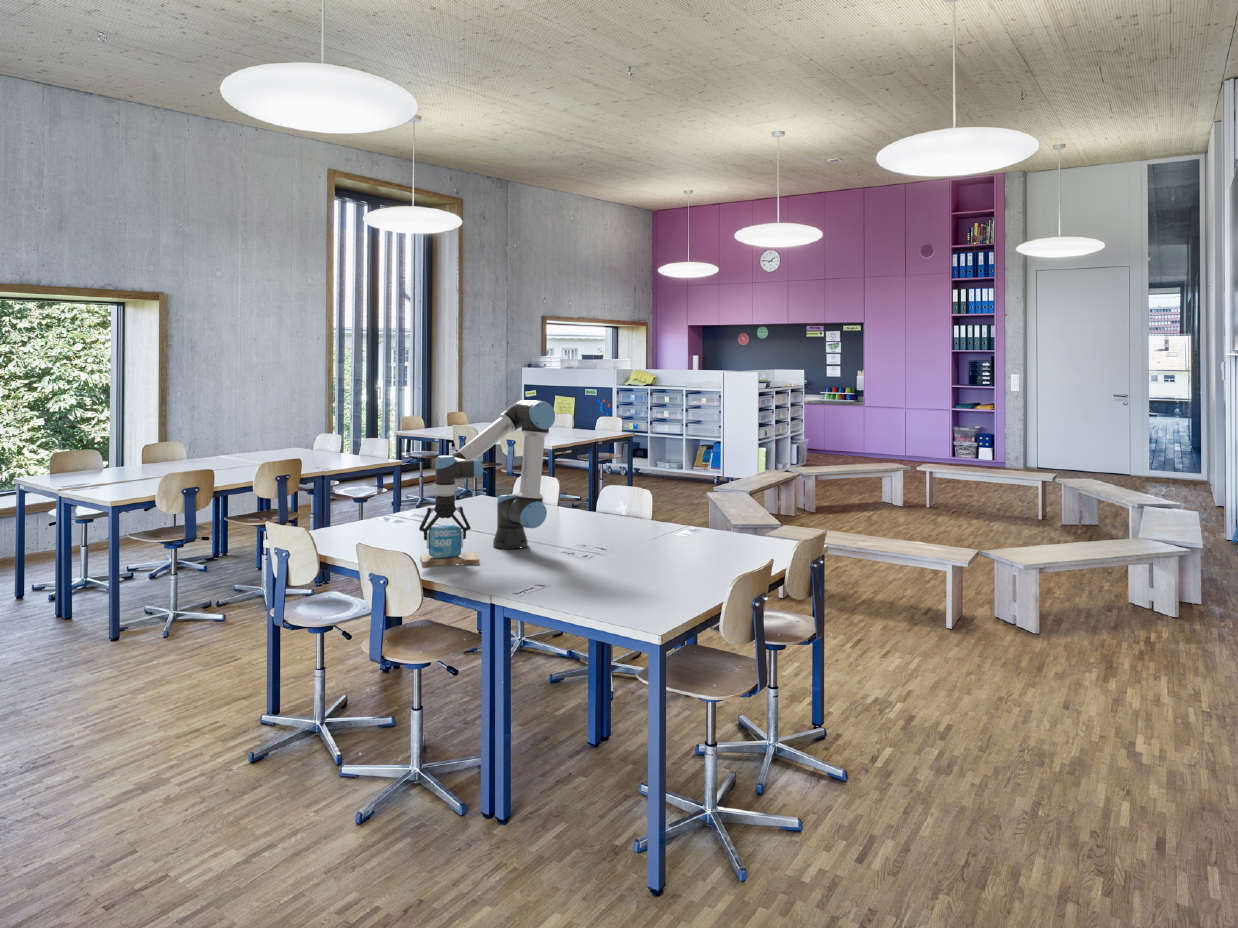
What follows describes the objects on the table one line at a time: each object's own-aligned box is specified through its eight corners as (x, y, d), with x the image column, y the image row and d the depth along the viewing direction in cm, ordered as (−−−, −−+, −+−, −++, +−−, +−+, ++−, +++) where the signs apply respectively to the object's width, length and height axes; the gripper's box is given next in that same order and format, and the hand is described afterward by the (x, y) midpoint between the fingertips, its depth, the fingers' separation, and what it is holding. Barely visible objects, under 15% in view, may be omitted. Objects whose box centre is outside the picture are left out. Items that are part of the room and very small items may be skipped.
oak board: (475, 557, 343) (475, 552, 342) (479, 564, 330) (479, 559, 330) (420, 559, 336) (420, 554, 336) (422, 566, 324) (422, 561, 324)
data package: (432, 558, 327) (432, 528, 326) (428, 556, 331) (428, 526, 330) (461, 556, 334) (461, 526, 333) (456, 554, 337) (457, 524, 336)
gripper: (475, 493, 337) (474, 544, 339) (412, 493, 330) (412, 546, 332) (477, 495, 330) (477, 548, 332) (413, 496, 323) (413, 550, 325)
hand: (444, 547), depth 332 cm, fingers closed on data package, 13 cm apart
